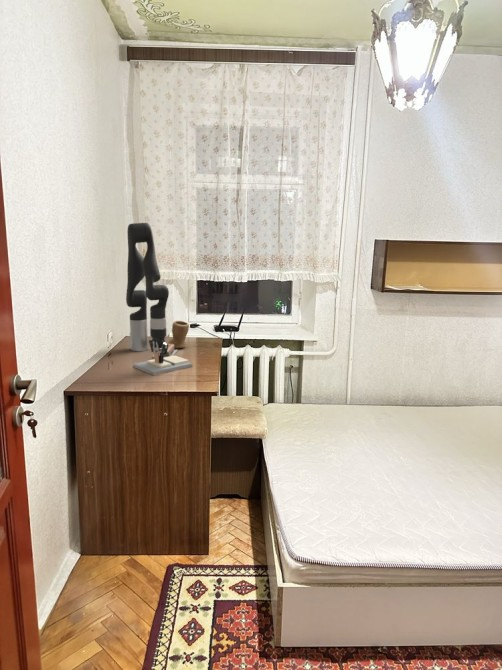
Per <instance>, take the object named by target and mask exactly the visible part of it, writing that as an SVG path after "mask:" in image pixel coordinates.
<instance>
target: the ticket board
mask: <svg viewBox="0 0 502 670" xmlns="http://www.w3.org/2000/svg"><path fill="white" fill-rule="evenodd" d="M147 361H148V360H146V361H145V360H144V361H141V362H135V363H133V364H132V365H133V368H135V369H138V370H139V371H140V370H141V371H143V372H146V373H147V374H149V375H152V376H156V375H160V374H164V373H169V372H172V371H173V372H174V371H177V370H181V369H187V368H190V367H191V366H192V367H193V362H190V361H189V359H188V358H187V359H186V358H183V357H180V356H177V355H176V354H175V355H174V356H169V357H164V361H165V362H168V363H171V366H168V367H163V368H160V367H157V366H155V365H152V364H150V363H147Z"/></svg>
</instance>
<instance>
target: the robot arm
mask: <svg viewBox="0 0 502 670" xmlns="http://www.w3.org/2000/svg"><path fill="white" fill-rule="evenodd" d="M126 234H127V250H128V251H127V270H126V271H127V283H126V284H127V285H126V293H125V294H126V295H125V296H126V297H125V300H126V306H127V307H129V308H139V309H138V310H136V311H135V312H132V313H130V314H129V328H130V329H129V331H130V332H129V343H130V344H129V345H130V347H129V348H130V350H131V351H133V352H144V351H148V349H149V346H150V351H151V353H153V355H154V358H155V354H154V352H158V353H159V363H163V362H164V357H163V356H164V355H166V354H167V350H168V346H169V345H168V343H166V340H165V339H166V337H167V320H166V307H167V302H168V299H169V295H170V291H169V287H167V285H165V284H155V285H154V283H157V282H159V281H160V280H161V273H160V269H159V265H158V262H157V261H158V260H157V257H156V256H157V254H156V250H155V249H156V248H155V242H154V234H153V229H152V227H151V224H149V223H148V222H136V223H135V222H134V223H129V224H128V226H127V233H126ZM140 243H141V244H142V243H146V245H147V246H146V252H145V255H144V256H143V255H142V254H141V253H140V251H139V250H138V248H137V244H140ZM144 278H145V290H144V289H138V290H135V289H136V287H137V286H138V285H139V284H140V283H141V282H142V280H143V279H144ZM148 300H149V301H157V303H155V304H153V305H151V306H149V307H150V309H149V312H150V313H149V315H150V316H149V318H150V319H149V331H150V332H149V333H150V335H149V336H150V338H152V339H149V340H148V337H149V336H148V317H147V316H148V313H147V310H148V308H147V307H148V304H147V303H148ZM160 348H162V349H160ZM164 351H165V352H164Z"/></svg>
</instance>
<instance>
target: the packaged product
mask: <svg viewBox="0 0 502 670" xmlns="http://www.w3.org/2000/svg"><path fill="white" fill-rule="evenodd" d="M167 344H168V343H167ZM168 345H169V346H168V350H167V354H166V355H164V356H163V357H169V356H174V355H175V356H176V354H177V352H178V351H179V350H178V349H176V348H174V347H175V345H174V344H168ZM160 349H162V348H160ZM164 352H165V351H164ZM151 358H152V359H151V360H153V359H155V358H154V354H153V355H152V356H151Z"/></svg>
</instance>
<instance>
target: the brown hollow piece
mask: <svg viewBox="0 0 502 670" xmlns="http://www.w3.org/2000/svg"><path fill="white" fill-rule="evenodd" d="M171 327H172V328H171V333H172V338H170V339H168V343H167V344H174V345H175V347H174V349H182V348H183V349H184V348H185V347H186V346H187V345H186V341H185V340H186V337H187V336H188V333H189V330H190V329H189V328H190V324H189V323H188V322H186V321H183V320H174V321H173V322H172V326H171Z"/></svg>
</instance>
